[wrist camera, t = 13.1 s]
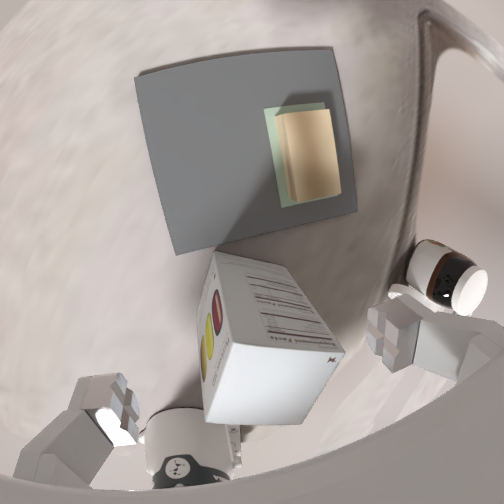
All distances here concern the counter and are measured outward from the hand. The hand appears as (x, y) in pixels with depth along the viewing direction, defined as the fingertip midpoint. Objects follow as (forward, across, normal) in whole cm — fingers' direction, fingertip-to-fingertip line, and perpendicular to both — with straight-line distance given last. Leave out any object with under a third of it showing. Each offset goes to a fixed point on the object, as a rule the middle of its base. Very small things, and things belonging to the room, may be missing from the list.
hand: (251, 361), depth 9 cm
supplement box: (+26, +2, -11) cm, 28 cm away
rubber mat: (+25, +7, +6) cm, 26 cm away
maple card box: (+24, +12, +4) cm, 27 cm away
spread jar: (+25, +29, -15) cm, 41 cm away
